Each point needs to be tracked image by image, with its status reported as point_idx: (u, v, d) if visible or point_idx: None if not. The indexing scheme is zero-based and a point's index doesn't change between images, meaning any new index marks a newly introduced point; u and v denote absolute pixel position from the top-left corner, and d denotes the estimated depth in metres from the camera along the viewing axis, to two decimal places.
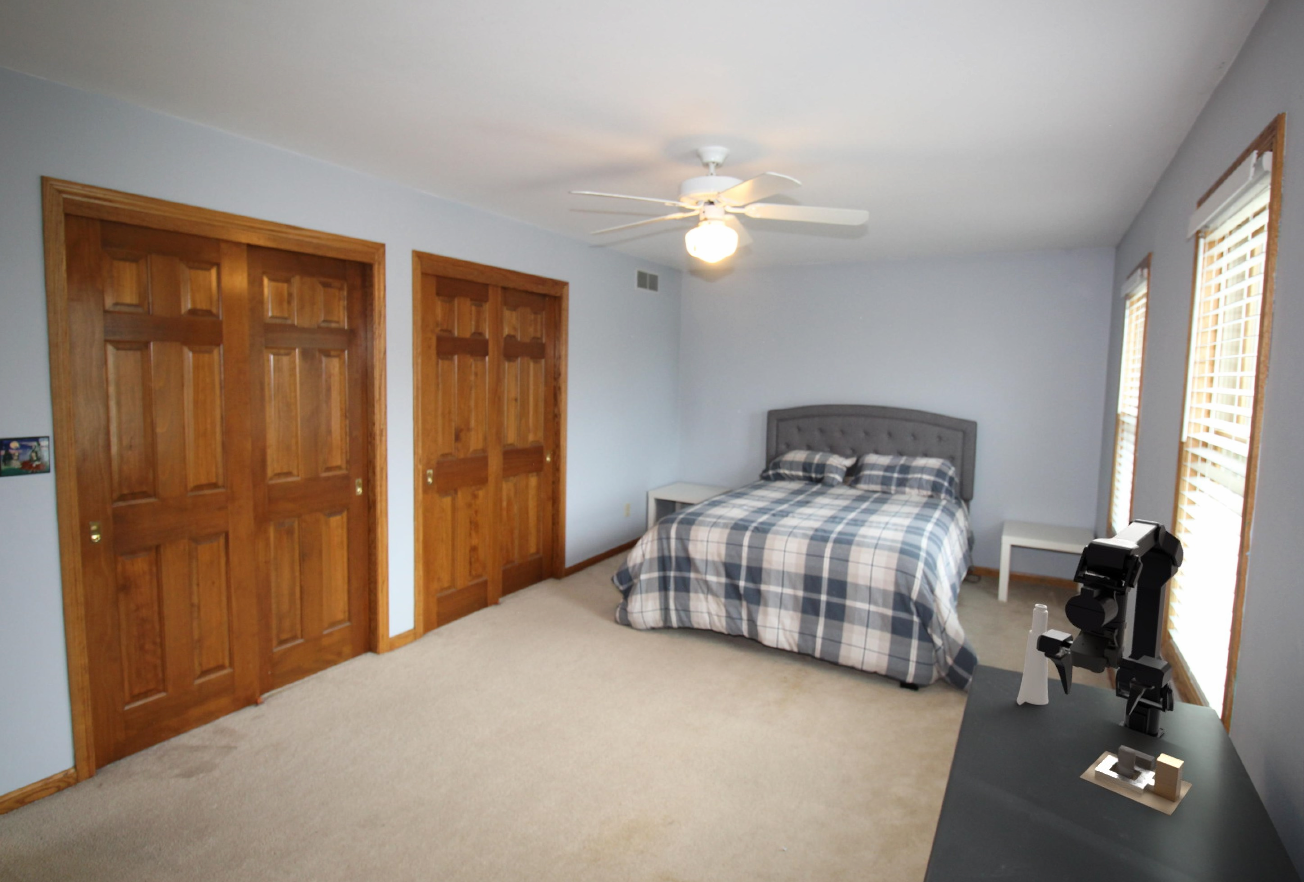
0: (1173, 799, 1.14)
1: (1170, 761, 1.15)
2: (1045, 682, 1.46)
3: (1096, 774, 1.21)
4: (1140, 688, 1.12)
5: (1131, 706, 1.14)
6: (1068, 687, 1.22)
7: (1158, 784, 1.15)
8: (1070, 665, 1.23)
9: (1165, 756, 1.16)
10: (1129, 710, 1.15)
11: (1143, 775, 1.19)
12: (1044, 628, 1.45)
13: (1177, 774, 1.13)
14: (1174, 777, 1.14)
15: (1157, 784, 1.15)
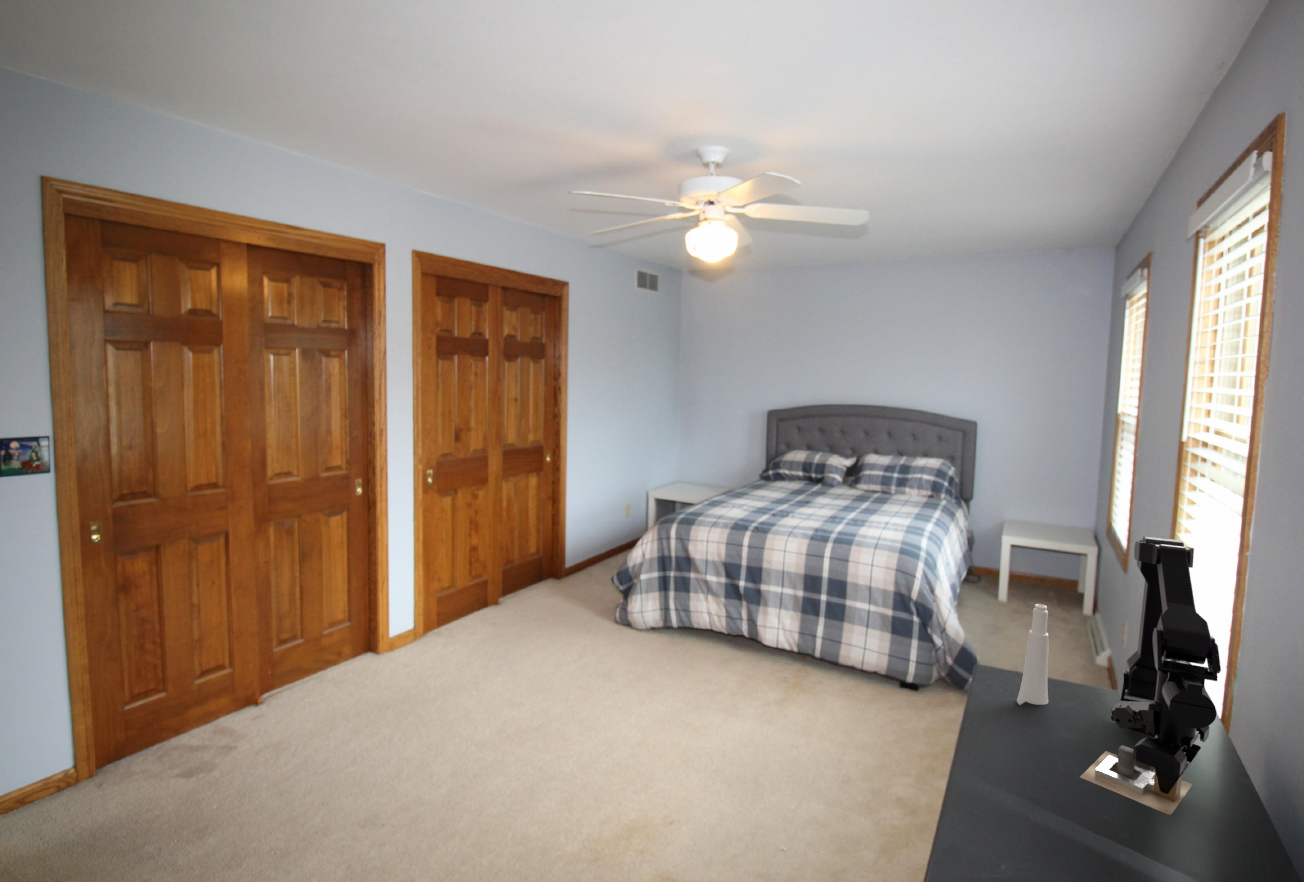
0: (1173, 799, 1.14)
1: None
2: (1045, 682, 1.46)
3: (1096, 774, 1.21)
4: None
5: (1157, 779, 1.15)
6: None
7: None
8: None
9: None
10: (1158, 784, 1.15)
11: (1143, 775, 1.19)
12: (1044, 628, 1.45)
13: None
14: None
15: (1157, 784, 1.15)
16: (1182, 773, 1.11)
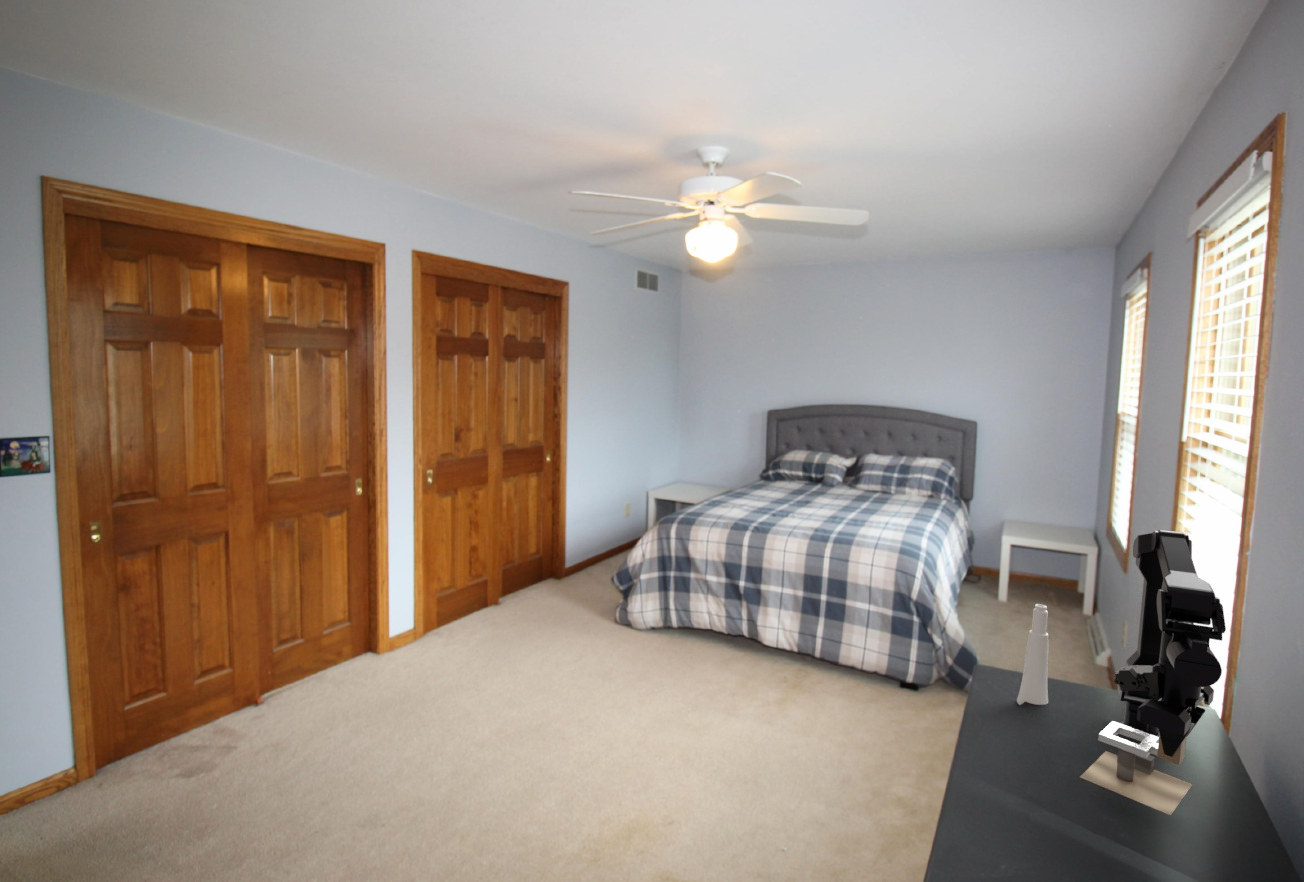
0: (1177, 762, 1.13)
1: None
2: (1045, 682, 1.46)
3: (1100, 739, 1.20)
4: None
5: None
6: None
7: None
8: None
9: None
10: None
11: (1147, 739, 1.18)
12: (1044, 628, 1.45)
13: None
14: None
15: (1161, 747, 1.15)
16: (1186, 734, 1.10)
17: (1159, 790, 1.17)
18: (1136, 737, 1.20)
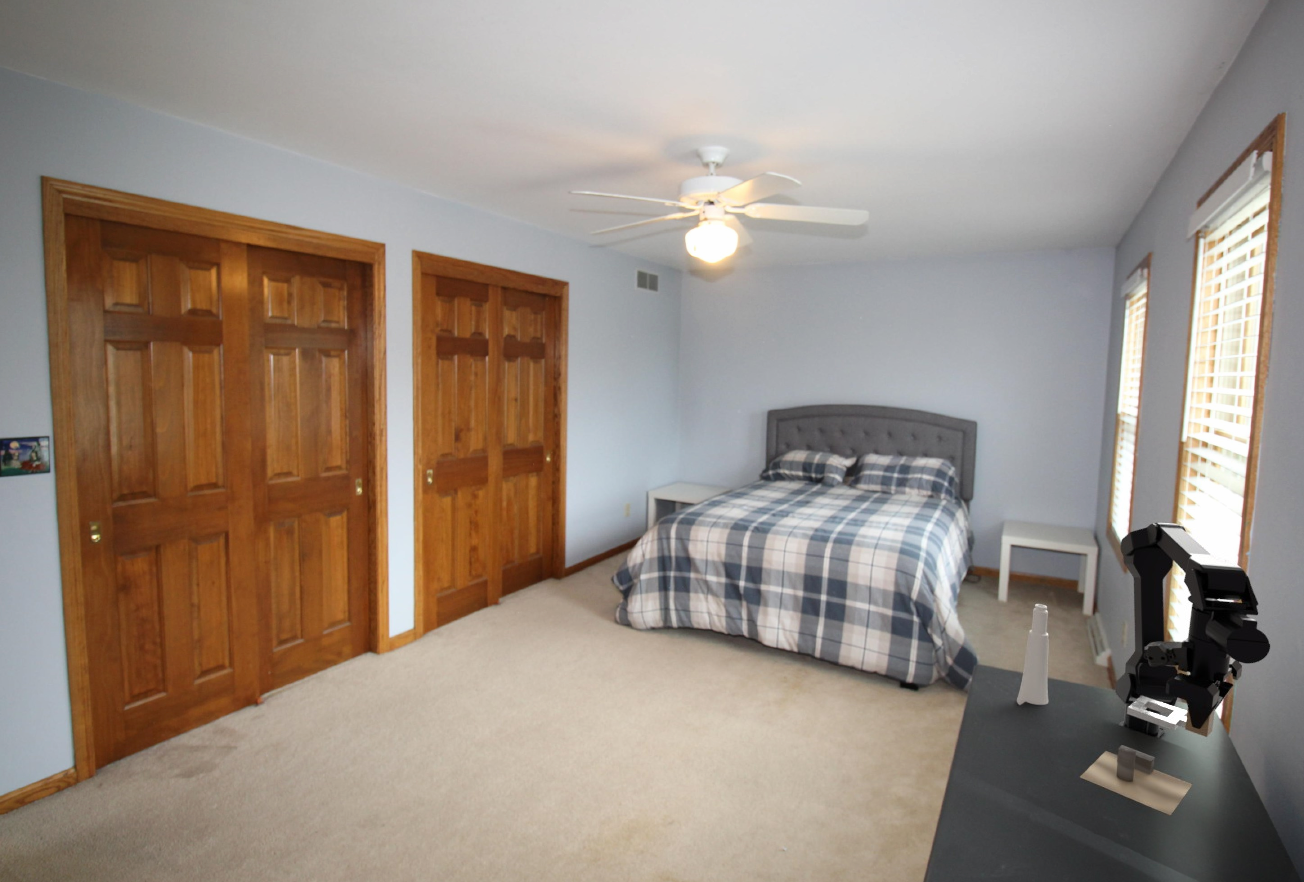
0: (1205, 734, 1.17)
1: None
2: (1045, 682, 1.46)
3: (1128, 712, 1.23)
4: None
5: None
6: None
7: None
8: None
9: None
10: None
11: (1176, 713, 1.22)
12: (1044, 628, 1.45)
13: None
14: None
15: (1189, 720, 1.18)
16: (1214, 707, 1.14)
17: (1159, 790, 1.17)
18: (1164, 711, 1.24)
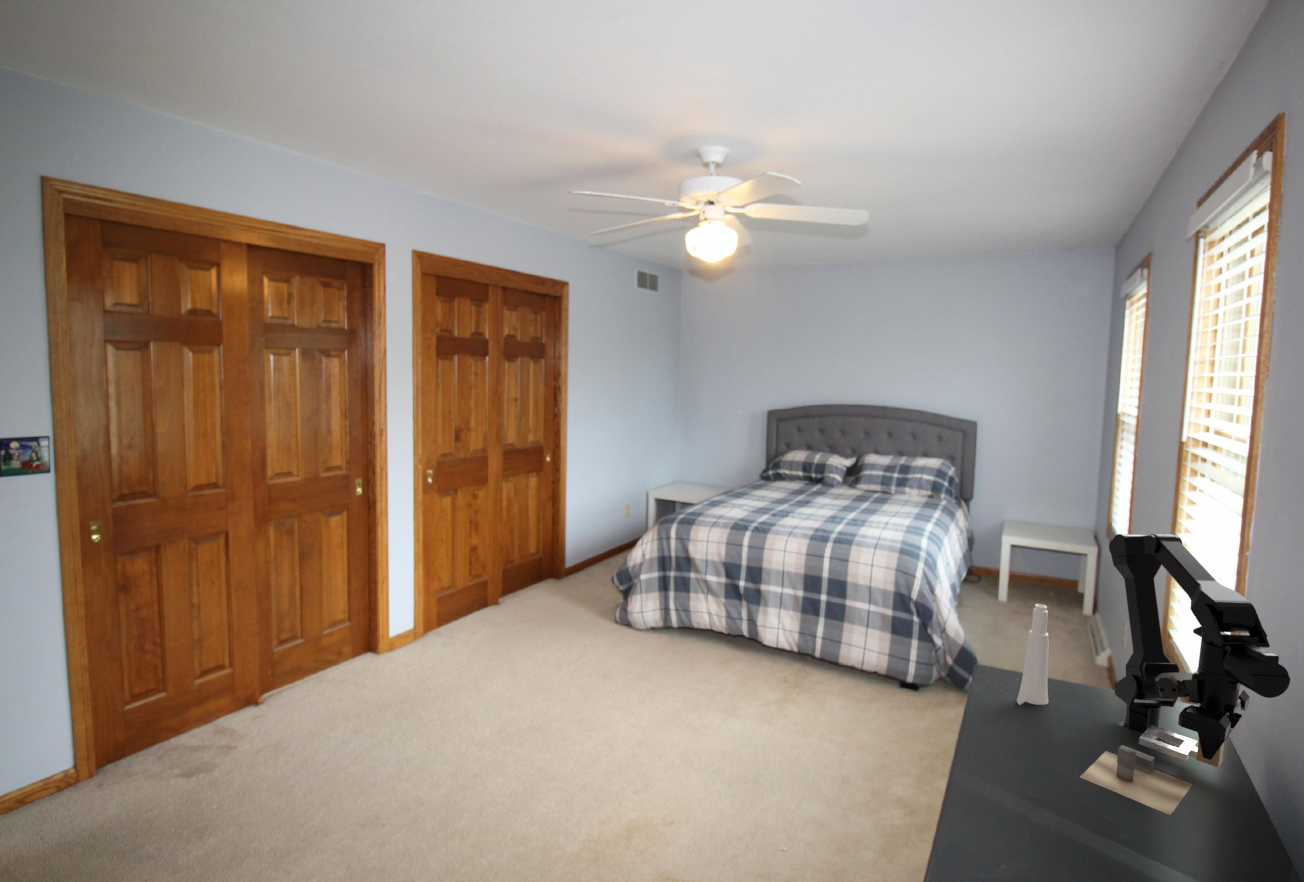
0: (1216, 764, 1.19)
1: None
2: (1045, 682, 1.46)
3: (1140, 742, 1.26)
4: None
5: None
6: None
7: None
8: None
9: None
10: None
11: (1186, 743, 1.24)
12: (1044, 628, 1.45)
13: None
14: None
15: (1201, 751, 1.21)
16: None
17: (1159, 790, 1.17)
18: (1175, 741, 1.26)
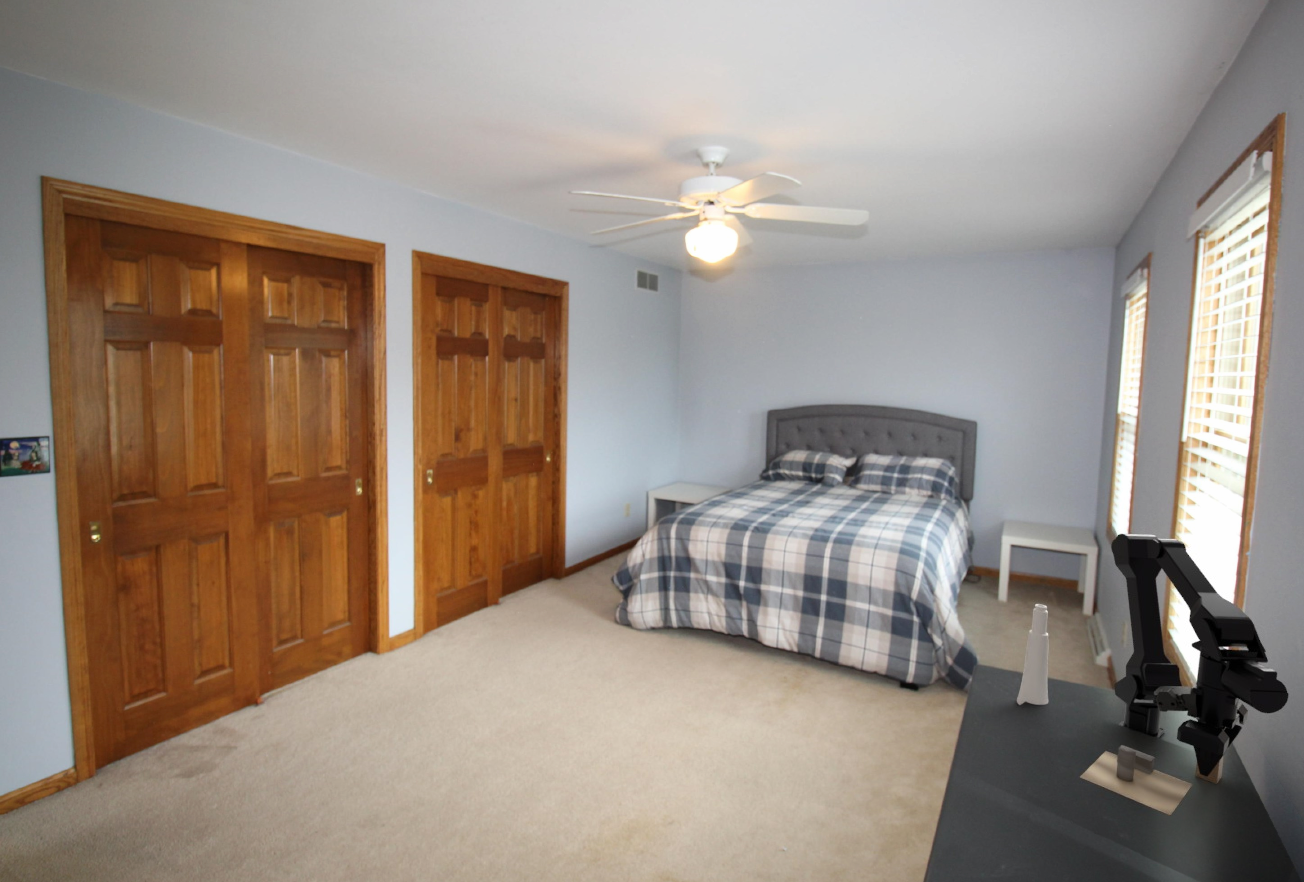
0: None
1: None
2: (1045, 682, 1.46)
3: None
4: None
5: (1197, 762, 1.19)
6: None
7: (1200, 774, 1.21)
8: None
9: None
10: (1198, 767, 1.20)
11: None
12: (1044, 628, 1.45)
13: (1218, 765, 1.19)
14: (1215, 768, 1.19)
15: (1198, 775, 1.21)
16: (1222, 756, 1.16)
17: (1159, 790, 1.17)
18: None
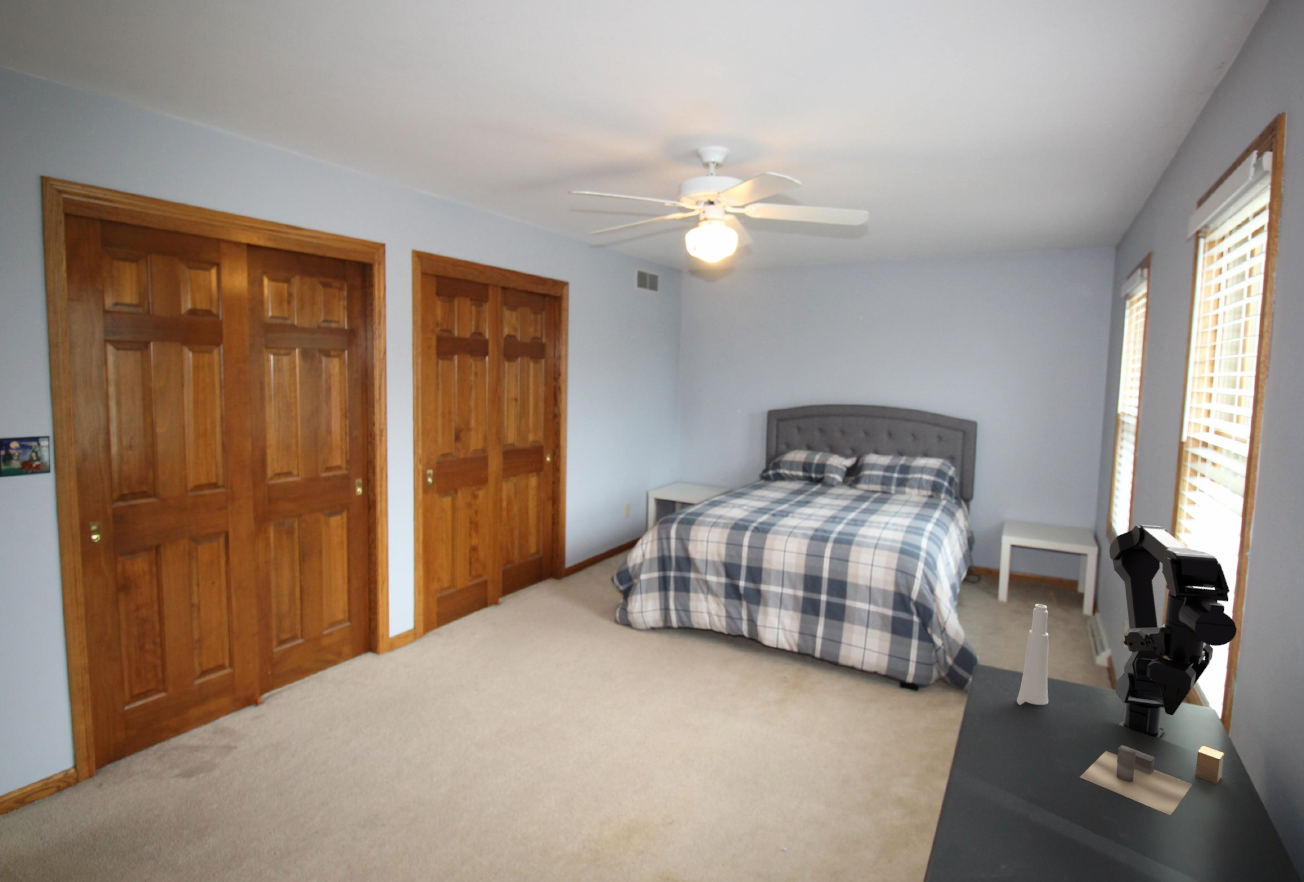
0: None
1: (1211, 753, 1.20)
2: (1045, 682, 1.46)
3: None
4: None
5: (1163, 702, 1.22)
6: None
7: (1200, 774, 1.21)
8: None
9: (1206, 748, 1.22)
10: (1164, 706, 1.22)
11: None
12: (1044, 628, 1.46)
13: (1218, 765, 1.19)
14: (1215, 768, 1.19)
15: (1198, 775, 1.21)
16: (1187, 694, 1.18)
17: (1159, 790, 1.17)
18: None
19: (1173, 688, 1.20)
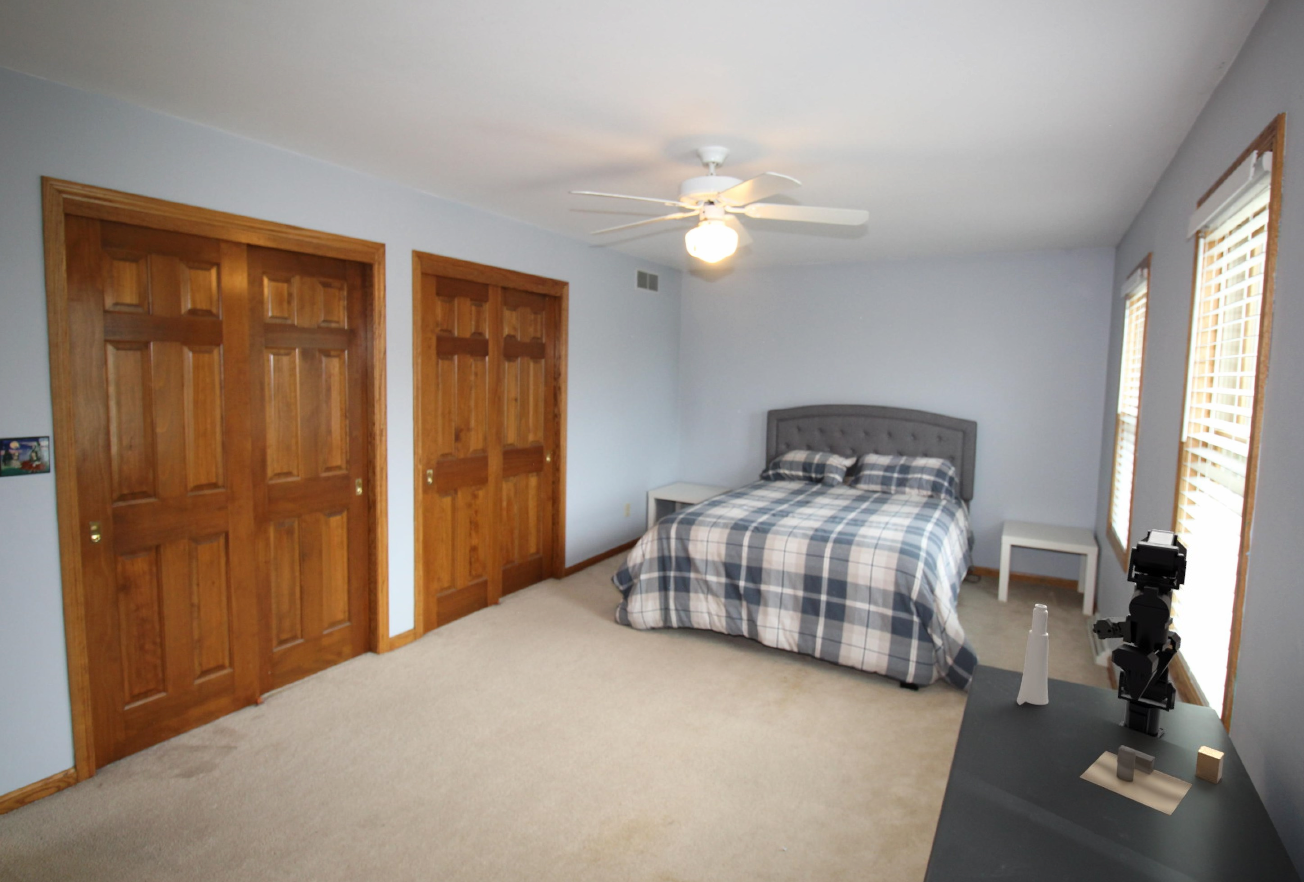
0: None
1: (1211, 753, 1.20)
2: (1045, 682, 1.46)
3: None
4: None
5: (1128, 687, 1.27)
6: None
7: (1200, 774, 1.21)
8: (1160, 662, 1.31)
9: (1206, 748, 1.22)
10: (1129, 692, 1.27)
11: None
12: (1044, 628, 1.46)
13: (1218, 765, 1.19)
14: (1215, 768, 1.19)
15: (1198, 775, 1.21)
16: (1150, 679, 1.23)
17: (1159, 790, 1.17)
18: None
19: (1137, 673, 1.25)
